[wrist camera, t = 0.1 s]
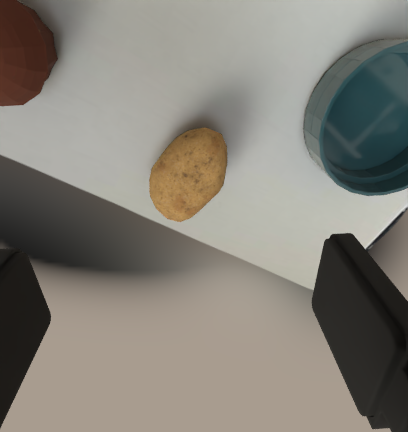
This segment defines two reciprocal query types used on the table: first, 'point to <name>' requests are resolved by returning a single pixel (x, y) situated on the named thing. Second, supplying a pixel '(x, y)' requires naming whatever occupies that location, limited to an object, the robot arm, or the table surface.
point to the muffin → (23, 53)
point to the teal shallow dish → (363, 119)
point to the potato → (188, 173)
